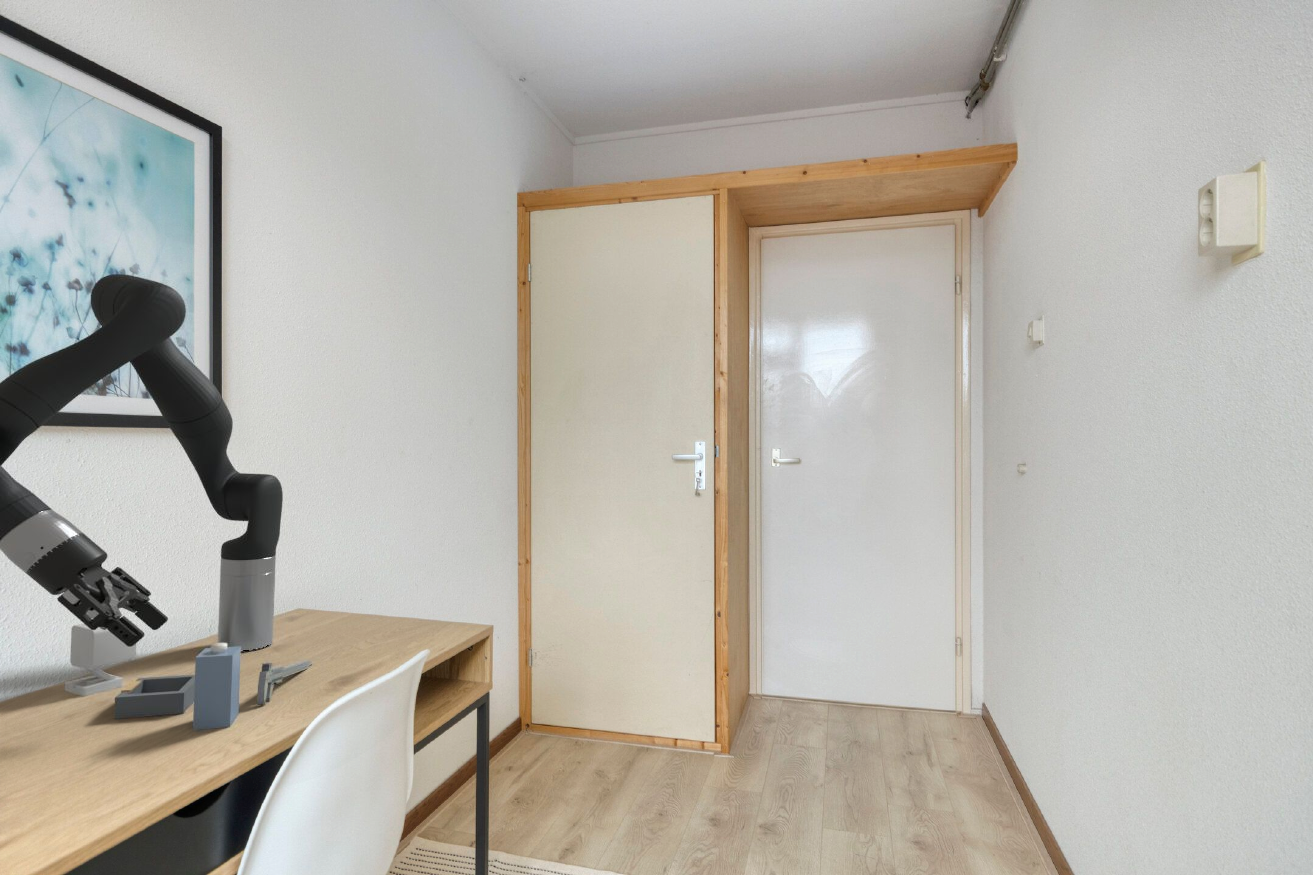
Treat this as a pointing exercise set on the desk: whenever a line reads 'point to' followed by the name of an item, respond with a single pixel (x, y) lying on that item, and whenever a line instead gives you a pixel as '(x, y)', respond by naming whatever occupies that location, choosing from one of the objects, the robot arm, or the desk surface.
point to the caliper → (276, 678)
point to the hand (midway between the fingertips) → (150, 632)
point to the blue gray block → (216, 687)
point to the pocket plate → (155, 696)
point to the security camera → (96, 659)
